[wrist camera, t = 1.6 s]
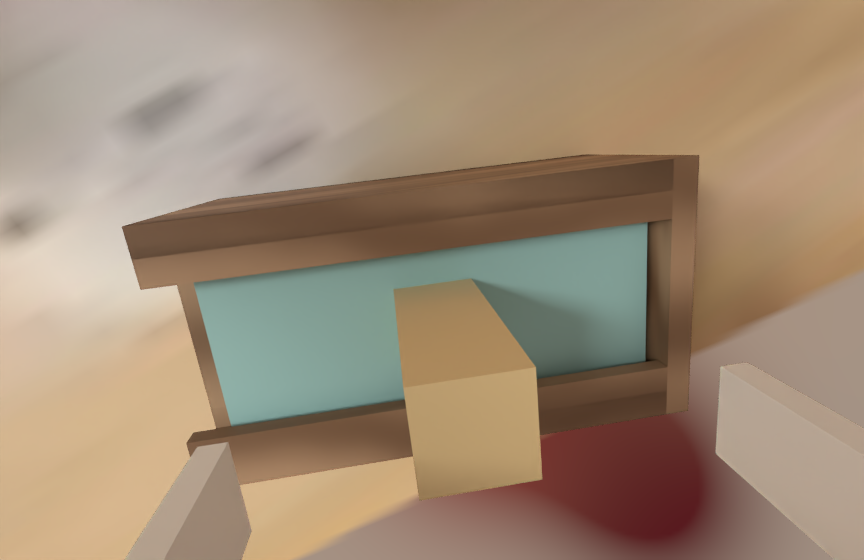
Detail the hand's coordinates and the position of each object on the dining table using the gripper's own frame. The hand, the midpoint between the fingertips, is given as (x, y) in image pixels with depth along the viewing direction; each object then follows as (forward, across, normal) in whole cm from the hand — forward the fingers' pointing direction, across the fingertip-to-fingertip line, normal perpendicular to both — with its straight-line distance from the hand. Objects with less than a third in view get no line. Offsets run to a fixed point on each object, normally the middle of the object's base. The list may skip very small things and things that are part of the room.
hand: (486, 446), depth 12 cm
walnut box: (+19, 0, 0) cm, 19 cm away
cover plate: (+11, 0, 0) cm, 11 cm away
